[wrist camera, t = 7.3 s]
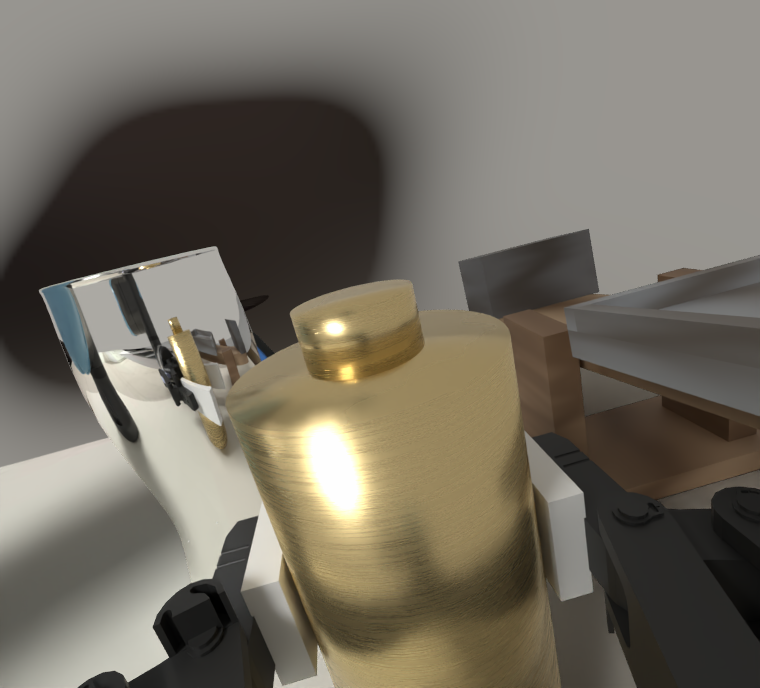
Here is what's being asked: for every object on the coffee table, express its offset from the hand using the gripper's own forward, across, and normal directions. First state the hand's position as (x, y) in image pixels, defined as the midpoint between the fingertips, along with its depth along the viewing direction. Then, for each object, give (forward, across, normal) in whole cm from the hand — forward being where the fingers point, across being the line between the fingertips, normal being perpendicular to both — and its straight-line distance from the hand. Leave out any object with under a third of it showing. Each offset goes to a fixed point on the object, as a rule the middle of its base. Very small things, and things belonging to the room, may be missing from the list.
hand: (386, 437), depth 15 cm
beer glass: (+5, -8, -7) cm, 12 cm away
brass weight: (-5, 0, -6) cm, 8 cm away
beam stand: (+4, +12, -7) cm, 14 cm away
